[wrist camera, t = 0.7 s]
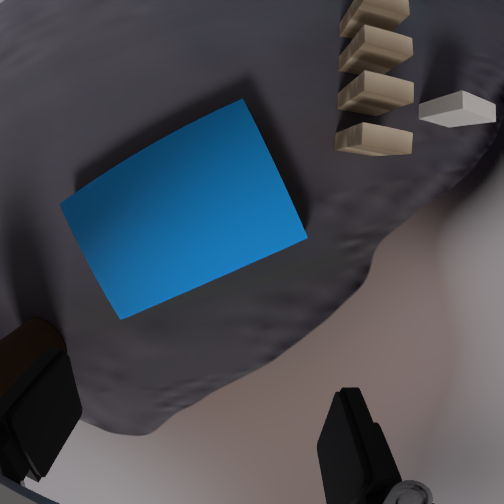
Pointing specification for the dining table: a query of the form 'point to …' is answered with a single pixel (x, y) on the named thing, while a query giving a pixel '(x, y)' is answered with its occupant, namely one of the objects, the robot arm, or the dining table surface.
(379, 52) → the domino
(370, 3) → the domino
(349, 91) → the domino
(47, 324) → the olive oil
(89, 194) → the book
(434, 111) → the end domino
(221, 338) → the dining table surface
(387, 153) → the domino
